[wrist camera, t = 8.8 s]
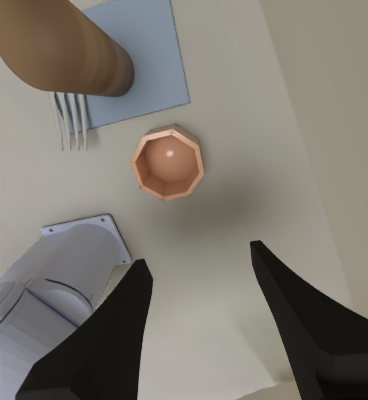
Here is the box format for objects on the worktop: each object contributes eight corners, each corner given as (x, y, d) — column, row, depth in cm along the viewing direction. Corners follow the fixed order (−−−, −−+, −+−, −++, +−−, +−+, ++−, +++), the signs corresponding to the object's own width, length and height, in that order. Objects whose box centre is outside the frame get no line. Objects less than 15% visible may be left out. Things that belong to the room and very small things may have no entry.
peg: (101, 103, 17) (27, 102, 9) (78, 51, 16) (-35, -4, 8) (141, 89, 17) (100, 75, 9) (122, 33, 15) (50, -46, 7)
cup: (152, 188, 22) (145, 205, 18) (133, 133, 19) (121, 141, 16) (204, 176, 21) (208, 192, 18) (193, 118, 18) (194, 122, 15)
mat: (72, 133, 19) (70, 133, 19) (24, 33, 16) (21, 31, 15) (189, 102, 18) (189, 102, 17) (166, -16, 14) (165, -19, 14)
